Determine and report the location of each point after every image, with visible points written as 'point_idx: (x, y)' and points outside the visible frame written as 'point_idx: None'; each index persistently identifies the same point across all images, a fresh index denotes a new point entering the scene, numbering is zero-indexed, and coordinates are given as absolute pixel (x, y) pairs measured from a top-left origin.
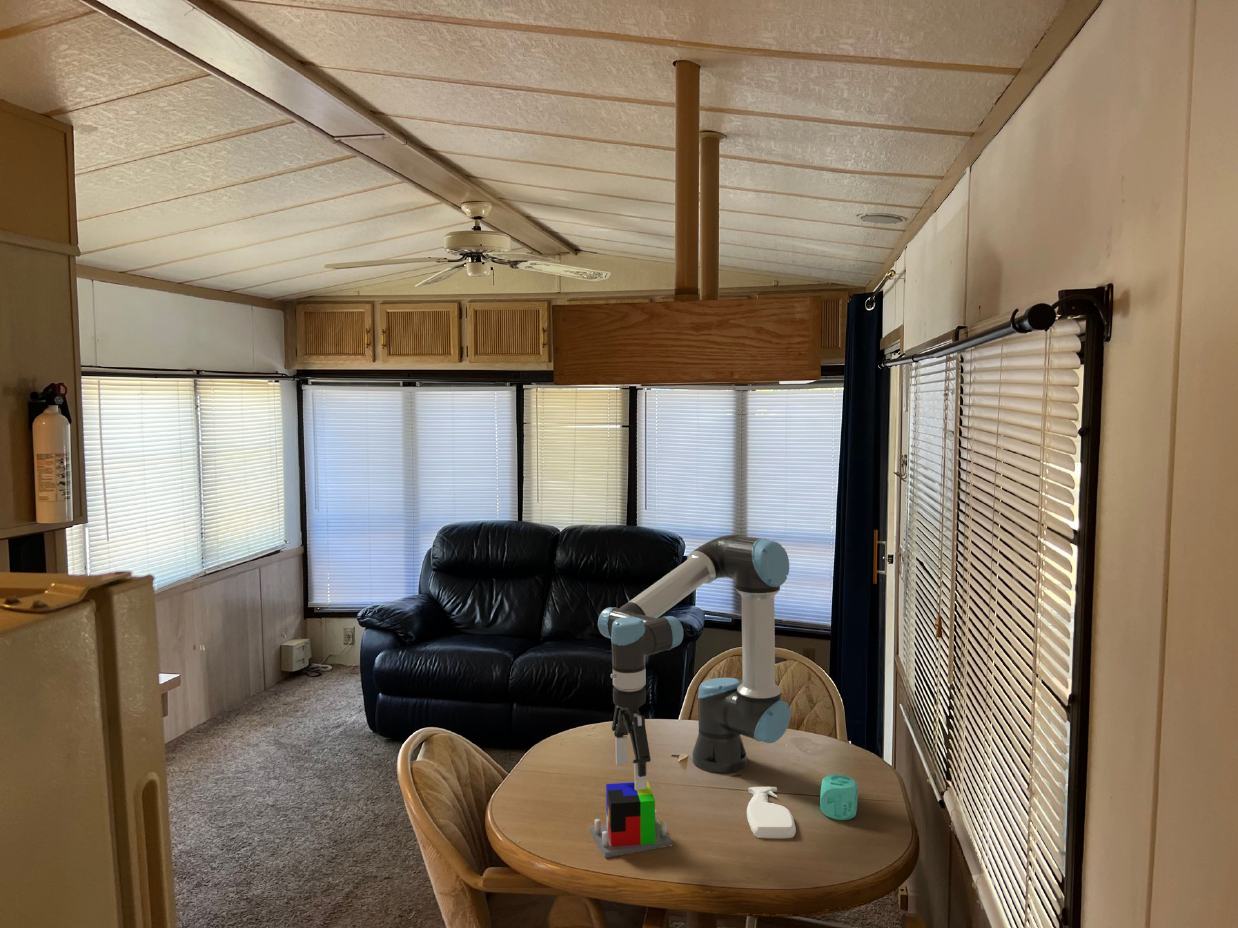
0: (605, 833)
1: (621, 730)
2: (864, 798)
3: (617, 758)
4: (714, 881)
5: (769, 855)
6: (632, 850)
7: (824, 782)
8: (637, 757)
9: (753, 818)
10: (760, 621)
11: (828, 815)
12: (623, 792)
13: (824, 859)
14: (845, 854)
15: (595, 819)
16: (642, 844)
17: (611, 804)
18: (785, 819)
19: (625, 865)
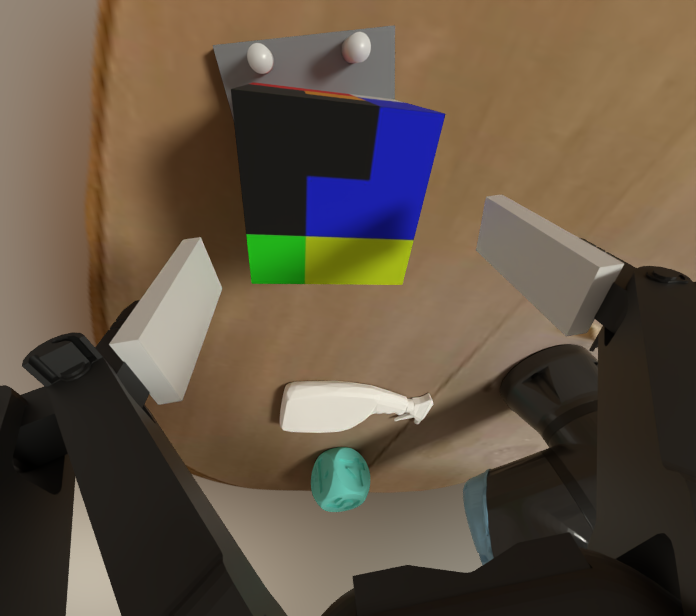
0: (252, 58)
1: (620, 353)
2: None
3: (505, 213)
4: (123, 305)
5: (228, 388)
6: None
7: (344, 493)
8: (51, 397)
9: (319, 397)
10: None
11: (326, 452)
12: (340, 181)
13: (216, 434)
14: (230, 450)
15: (367, 39)
16: None
17: (232, 92)
18: (307, 426)
19: (171, 112)
